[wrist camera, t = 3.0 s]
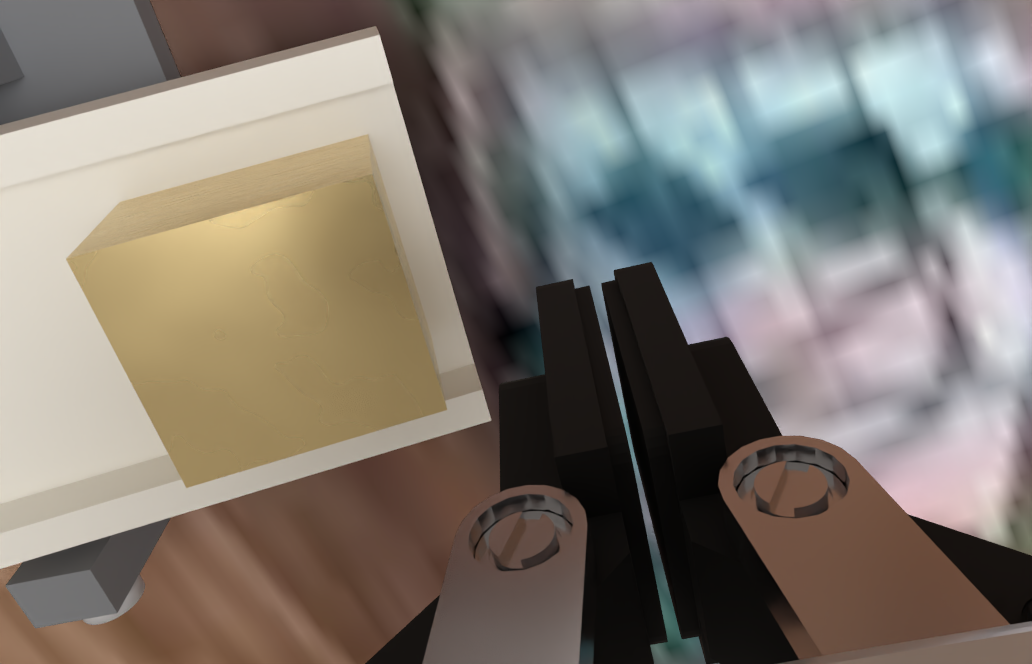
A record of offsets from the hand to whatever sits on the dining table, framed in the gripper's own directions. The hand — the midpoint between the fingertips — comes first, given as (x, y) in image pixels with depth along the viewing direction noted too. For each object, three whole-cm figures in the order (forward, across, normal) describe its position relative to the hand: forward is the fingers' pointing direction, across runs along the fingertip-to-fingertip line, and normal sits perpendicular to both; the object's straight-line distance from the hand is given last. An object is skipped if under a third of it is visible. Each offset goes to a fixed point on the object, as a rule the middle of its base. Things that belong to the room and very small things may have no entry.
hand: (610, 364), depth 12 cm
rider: (+9, +7, +1) cm, 11 cm away
